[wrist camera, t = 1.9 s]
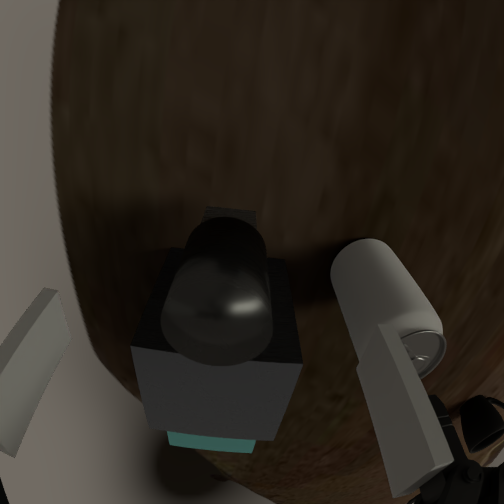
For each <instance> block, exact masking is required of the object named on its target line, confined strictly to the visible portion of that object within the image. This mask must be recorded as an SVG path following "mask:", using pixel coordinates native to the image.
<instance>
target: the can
mask: <svg viewBox="0 0 504 504" xmlns="http://www.w3.org/2000/svg"><path fill="white" fill-rule="evenodd" d="M330 277H331V282H332V285H333V288H334V291H335V293H336V296H337V299H338V302H339V305H340V307H341V310H342V313H343V316H344V319H345V322H346V324H347V327H348V330H349V333H350V336H351V339H352V342H353V345H354V348H355V351H356V353H357V356H358V359H359V362H360V360H361V358H362V356H363V354H364V352H365V350H366V348H367V345H368V343H369V341H370V339H371V337H372V335H373V332H374V330H375V328H376V326H377V324H393V325H394V327H395V329H396V331H397V333H398V335H399V337H400V339H401V341H402V343H403V345H404V347H405V349H406V351H407V353H408V355H409V357H410V359H411V361H412V363H413V365H414V367H415V369H416V372H417V374H418V376H419V378H420V379H422V378H423V377H425V376H426V375H428V374H429V373H430V372H431V371H432V370H433V369H434V368H435V367H436V366H437V365H438V364H439V363H440V361H441V360H442V358H443V356H444V354H445V351H446V340H445V338H444V336H443V329H442V323H441V321H440V319H439V317H438V315H437V313H436V312H435V310H434V309H433V307H432V306H431V304H430V303H429V301H428V300H427V298H426V297H425V295H424V294H423V292H422V291H421V289H420V288H419V286H418V285H417V284H416V282H415V281H414V279H413V278H412V277H411V275H410V274H409V272H408V271H407V270H406V268H405V267H404V266H403V264H402V263H401V262H400V260H399V259H398V258H397V256H396V255H395V254H394V252H393V251H392V250H391V249H390V247H389V246H388V245H386V244H385V243H384V242H382V241H379V240H376V239H362V240H358V241H355V242H353V243H351V244H349V245H348V246H346V247H345V248H344V249H342V250H341V251H340V252H339V254H338V255H337V256H336V258H335V259H334V261H333V264H332V267H331V272H330Z"/></svg>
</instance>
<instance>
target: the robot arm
mask: <svg viewBox="0 0 504 504" xmlns="http://www.w3.org/2000/svg"><path fill="white" fill-rule="evenodd" d="M70 341H71V335H70V332H69V328H68V325H67V321H66V318H65V314H64V311H63V307H62V303H61V299H60V296H59V292H58V290H53V289H48V288H44V289H43V290H42V291H41V292H40V294H39V295H38V296H37V297H36V299H35V300H34V301H33V302H32V304H31V305H30V306H29V307H28V309H27V310H26V311H25V313H24V314H23V315H22V317H21V318H20V319H19V321H18V322H17V323H16V325H15V326H14V327H13V329H12V330H11V331H10V333H9V334H8V336H7V337H6V339H5V340H4V341H3V343H2V344H1V346H0V451H2V452H4V453H6V454H7V455H9V456H11V457H14V458H15V457H16V454H17V451H18V449H19V447H20V444H21V442H22V439H23V437H24V434H25V432H26V430H27V428H28V425H29V423H30V421H31V418H32V416H33V414H34V412H35V410H36V408H37V406H38V403H39V401H40V399H41V397H42V395H43V393H44V391H45V389H46V387H47V385H48V383H49V381H50V379H51V377H52V375H53V373H54V371H55V369H56V367H57V365H58V363H59V362H60V360H61V358H62V356H63V354H64V352H65V350H66V349H67V347H68V345H69V343H70ZM356 370H357V373H358V376H359V379H360V382H361V385H362V389H363V392H364V395H365V398H366V402H367V405H368V408H369V412H370V415H371V418H372V422H373V425H374V429H375V432H376V436H377V439H378V443H379V446H380V450H381V454H382V457H383V461H384V465H385V469H386V472H387V476H388V480H389V484H390V488H391V492H392V496H393V498H396V497H400V496H404V495H408V494H411V493H412V492H414V491H415V490H417V489H418V488H420V492H421V493H420V494H419V495H417V496H416V497H414V498H413V499H411V500H410V501H409V502H408V503H407V504H412V503H414V502H415V503H414V504H504V462H503V463H502V464H501V465H499V466H498V467H481V466H480V464H479V463H477V462H476V461H474V460H468V458H467V456H466V455H465V452H464V450H463V447H462V445H461V442H460V440H459V438H458V435H457V433H456V430H455V428H454V426H452V421H451V419H450V417H448V415H449V414H448V412H447V410H446V408H445V406H444V404H443V403H442V401H441V400H440V399H439V398H438V397H437V396H436V395H428V396H427V393H426V391H425V389H424V387H423V384H422V382H421V380H420V378H419V376H418V374H417V372H416V369H415V367H414V365H413V363H412V361H411V359H410V357H409V355H408V353H407V351H406V349H405V347H404V345H403V343H402V341H401V339H400V337H399V335H398V333H397V331H396V329H395V327H394V325H393V324H377V326H376V328H375V330H374V332H373V335H372V337H371V339H370V341H369V343H368V345H367V348H366V350H365V352H364V354H363V356H362V358H361V360H360V362H359V364H358V366H357V368H356ZM0 504H9V502H8V499H7V496H6V494H5V491H4V488H3V485H2V482H1V479H0Z"/></svg>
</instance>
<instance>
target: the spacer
mask: <svg viewBox="0 0 504 504" xmlns="http://www.w3.org/2000/svg"><path fill="white" fill-rule="evenodd" d="M167 433H168V438H169V443H170V445H175V446H182V447H189V448H197V449H206V450H216V451H228V452H243V453H252V450H253V447H254V444H255V441H256V440H245V439H230V438H218V437H208V436H199V435H191V434H183V433H176V432H170V431H167Z"/></svg>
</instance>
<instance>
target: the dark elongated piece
mask: <svg viewBox="0 0 504 504" xmlns="http://www.w3.org/2000/svg"><path fill="white" fill-rule="evenodd" d="M161 328H162V331H163V334H164V336H165V338H166V340H167V341H168V343H169V344H170V345H171V346H172V347H173V348H174V349H175V350H176V351H177V352H179V353H180V354H181V355H183V356H185V357H186V358H188V359H190V360H193V361H195V362H198V363H201V364H205V365H211V366H232V365H237V364H241V363H244V362H247V361H249V360H251V359H253V358H255V357H256V356H258V355H259V354H260V353H262V352H263V351H264V350H265V348H266V347H267V346H268V344H269V342H270V340H271V337H272V333H273V321H272V309H271V298H270V286H269V275H268V264H267V253H266V246H265V243H264V240H263V238H262V236H261V235H260V233H259V232H258V231H257V225H256V211H249V210H240V209H231V208H221V207H211V206H207V207H206V210H205V213H204V216H203V218H202V221H201V224H200V225H198V226H197V227H196V228H195V229H194V230H193V232H192V233H191V235H190V236H189V238H188V241H187V243H186V246H185V249H184V251H183V254H182V257H181V259H180V262H179V265H178V268H177V270H176V273H175V276H174V279H173V281H172V284H171V287H170V290H169V293H168V295H167V298H166V301H165V304H164V307H163V310H162V313H161Z"/></svg>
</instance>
